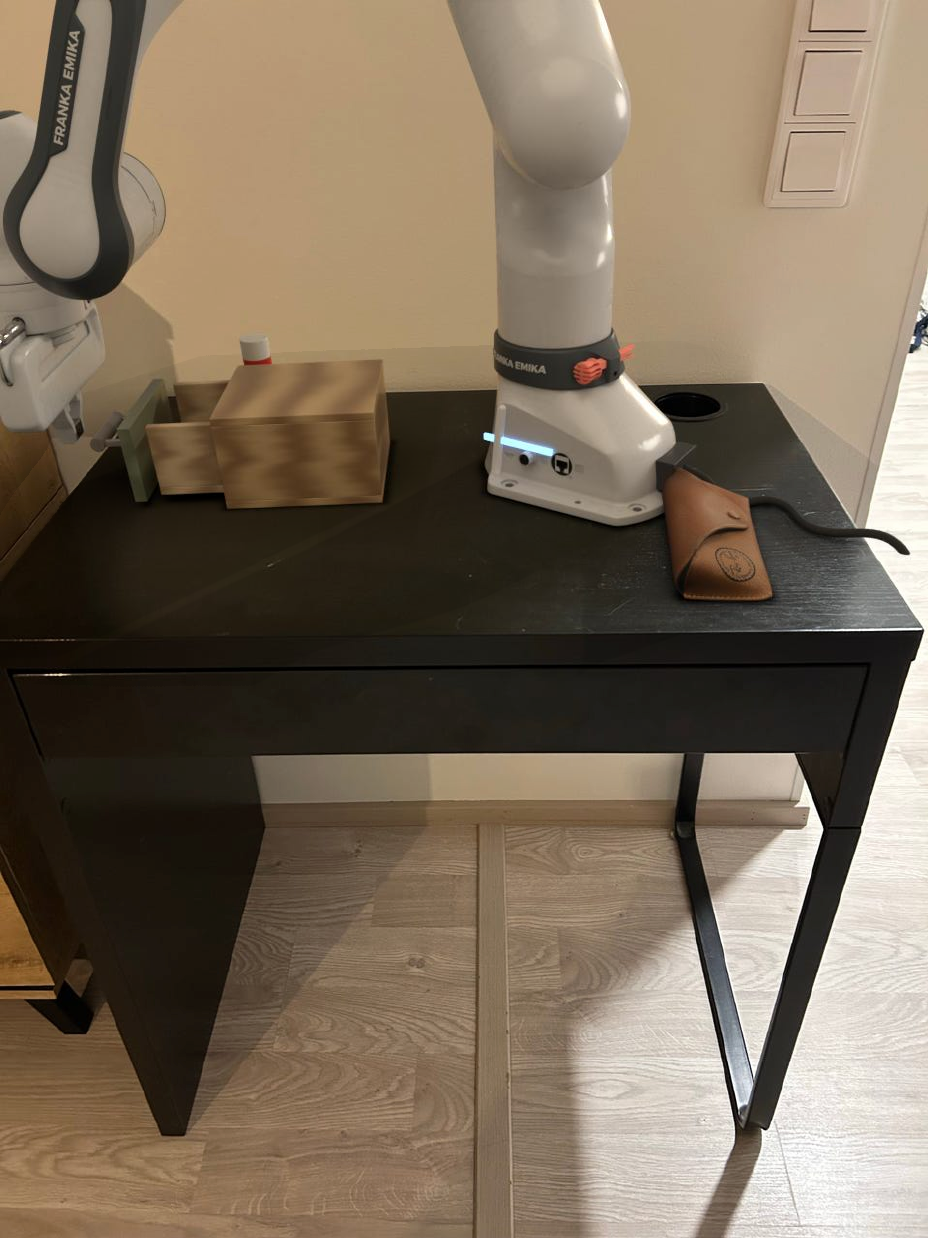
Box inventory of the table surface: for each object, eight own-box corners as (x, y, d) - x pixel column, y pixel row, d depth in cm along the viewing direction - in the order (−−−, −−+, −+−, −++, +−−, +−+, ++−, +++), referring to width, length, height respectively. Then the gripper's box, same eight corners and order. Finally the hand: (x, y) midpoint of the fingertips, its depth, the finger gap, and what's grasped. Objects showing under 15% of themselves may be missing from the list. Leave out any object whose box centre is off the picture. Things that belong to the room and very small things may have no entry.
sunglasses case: (780, 597, 78) (747, 535, 75) (700, 631, 80) (665, 572, 77) (747, 495, 92) (719, 439, 89) (680, 526, 95) (650, 473, 92)
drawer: (92, 503, 96) (71, 431, 91) (129, 447, 107) (112, 380, 102) (279, 496, 96) (267, 423, 91) (297, 440, 107) (287, 373, 102)
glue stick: (286, 419, 114) (273, 336, 109) (264, 427, 112) (250, 344, 107) (270, 412, 116) (256, 331, 110) (248, 421, 114) (233, 338, 109)
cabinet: (227, 509, 96) (208, 418, 90) (252, 447, 108) (237, 365, 102) (382, 502, 95) (373, 412, 90) (390, 442, 107) (382, 358, 102)
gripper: (27, 337, 83) (70, 482, 90) (99, 274, 99) (130, 400, 107) (-46, 340, 83) (4, 484, 91) (39, 276, 100) (75, 402, 107)
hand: (73, 438), depth 99 cm, fingers closed
